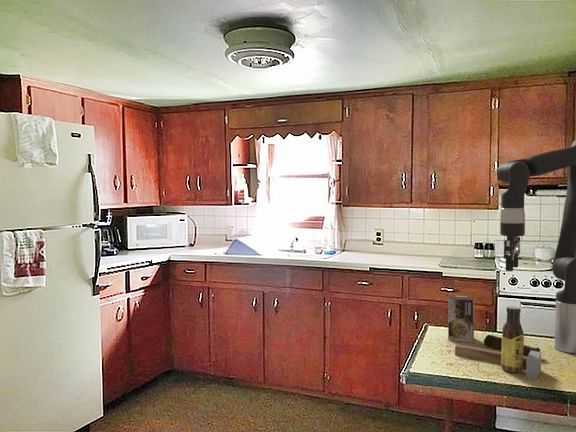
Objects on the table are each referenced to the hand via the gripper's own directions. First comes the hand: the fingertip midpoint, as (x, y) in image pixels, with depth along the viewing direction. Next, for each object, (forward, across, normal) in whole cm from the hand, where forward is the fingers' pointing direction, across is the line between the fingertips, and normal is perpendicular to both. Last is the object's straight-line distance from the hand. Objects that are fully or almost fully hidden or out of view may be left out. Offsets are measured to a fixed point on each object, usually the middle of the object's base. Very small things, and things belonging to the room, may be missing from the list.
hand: (512, 269), depth 164 cm
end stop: (+30, -14, -9) cm, 34 cm away
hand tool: (+30, +3, +1) cm, 30 cm away
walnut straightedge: (+30, -9, +5) cm, 31 cm away
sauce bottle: (+30, -14, -3) cm, 33 cm away
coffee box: (+30, +8, +19) cm, 37 cm away
